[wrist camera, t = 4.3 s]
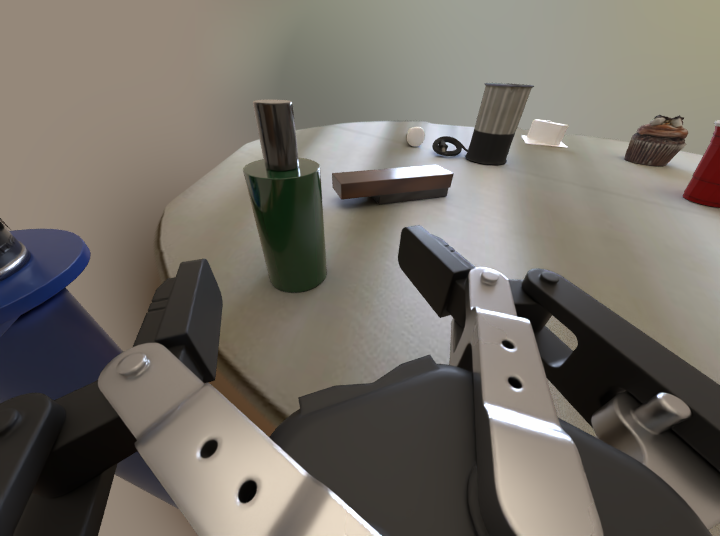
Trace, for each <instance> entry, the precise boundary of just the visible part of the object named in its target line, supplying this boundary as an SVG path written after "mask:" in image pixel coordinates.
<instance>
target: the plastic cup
mask: <svg viewBox="0 0 720 536" xmlns="http://www.w3.org/2000/svg"><path fill="white" fill-rule="evenodd" d="M715 125H716V126H715V132H714V133H713V137H712V139H711V143H710V145H709V146H708V148H707V150H706V152H705V154H704V155H703V157H702V159H701V161H700V163H699V165H698V166H697V168H696V170H695V172H694V174H693V177H692V179H691V181H690V182H689V184H688V186H687V188H686V189H685V191H684V194H683V197H684V198H685V199H687V200H690V201H692V202H695V203H699V204H702V205H707V206H712V207H719V208H720V120H717V121H715Z"/></svg>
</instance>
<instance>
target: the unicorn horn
mask: <svg viewBox="0 0 720 536" xmlns="http://www.w3.org/2000/svg"><path fill="white" fill-rule="evenodd" d="M424 139H425V132H424V130H423V129H422V128H420V127H413V128H410V129H409V130H408V134H407V142H408V143H409V145H411V146H413V147H418V146H420V145H421V144H422V143H423V141H424Z"/></svg>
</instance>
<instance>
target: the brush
mask: <svg viewBox="0 0 720 536" xmlns="http://www.w3.org/2000/svg"><path fill="white" fill-rule="evenodd" d="M452 178H453V173H451V172H449V171H447V170H445V169H443V168H441V167H439V166H437V165H430V166H417V167H405V168H392V169H380V170H367V171H355V172H342V173H332V184H333V189H334V190H335V191H336V193H337V194H338V195H339V197H340V198H341V199H350V198H359V197H368V196H371V197H372V198H373V199H374V200H375V201H376V202H377V203H378V204H386V203H395V202H403V201H411V200H419V199H427V198H436V197H444V196H447V191H448V188H449V187H450V186H451V182H452Z"/></svg>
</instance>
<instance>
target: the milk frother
mask: <svg viewBox="0 0 720 536" xmlns="http://www.w3.org/2000/svg"><path fill="white" fill-rule="evenodd" d="M485 85H486V87H485V91H484V95H483V98H482V102H481V106H480V110H479V114H478V117H477V121H476V125H475V129H474V132H473V136H472V139H471V143H470V146H469V149H468V150H467V149H466V148H465V147H464V146H463V145H462V144H461V143H460V142H459V141H458V140H457V139H455V138H452V137H448V136H445V137H440V138H438V139H437V140H435V141H434V143H433V150H434V151H435V152H436V153H437V154H440V155H444V156H456V155H458V154H459V153H460V152H461V150H462V148H463V149H464V150H465V151H467V154H466V156H465V157H466V158H467V159H468V160H470V161H473V162H477V163H482V164H491V165H498V164H504V163H506V161H507V160H506V158H507V155H508V152H509V149H510V146H511V143H512V140H513V137H514V134H515V132H516V129H517V126H518V124H519V121H520V118H521V116H522V113H523V110H524V107H525V104H526V102H527V99H528V96H529V93H530V91H531V88H532V87H534V86H532V85H520V84H501V83H485ZM445 142H449V143H452V144H453V145H455V146H456V148H457V149H456V150H454V151H446V150H447V147H448V145H446V144H445ZM438 144H439V145H438Z"/></svg>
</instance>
